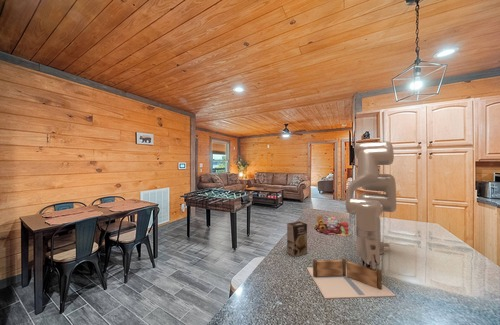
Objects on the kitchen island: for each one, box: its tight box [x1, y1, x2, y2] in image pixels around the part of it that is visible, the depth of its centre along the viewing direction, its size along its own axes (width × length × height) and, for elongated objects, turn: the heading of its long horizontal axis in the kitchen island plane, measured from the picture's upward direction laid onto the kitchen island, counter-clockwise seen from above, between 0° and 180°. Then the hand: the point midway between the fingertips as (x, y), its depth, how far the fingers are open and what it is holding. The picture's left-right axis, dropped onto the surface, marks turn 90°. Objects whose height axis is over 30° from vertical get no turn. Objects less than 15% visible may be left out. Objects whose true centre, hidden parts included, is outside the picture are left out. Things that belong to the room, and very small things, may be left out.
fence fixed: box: [312, 258, 347, 277], centre depth 81 cm, size 14×1×7 cm, turn 92°
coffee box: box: [286, 221, 308, 258], centre depth 103 cm, size 9×6×16 cm
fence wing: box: [346, 260, 383, 290], centre depth 76 cm, size 12×1×7 cm, turn 47°
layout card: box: [306, 265, 397, 300], centre depth 78 cm, size 26×20×1 cm
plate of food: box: [314, 215, 351, 237], centre depth 138 cm, size 25×24×9 cm
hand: (367, 276), depth 78 cm, fingers closed
